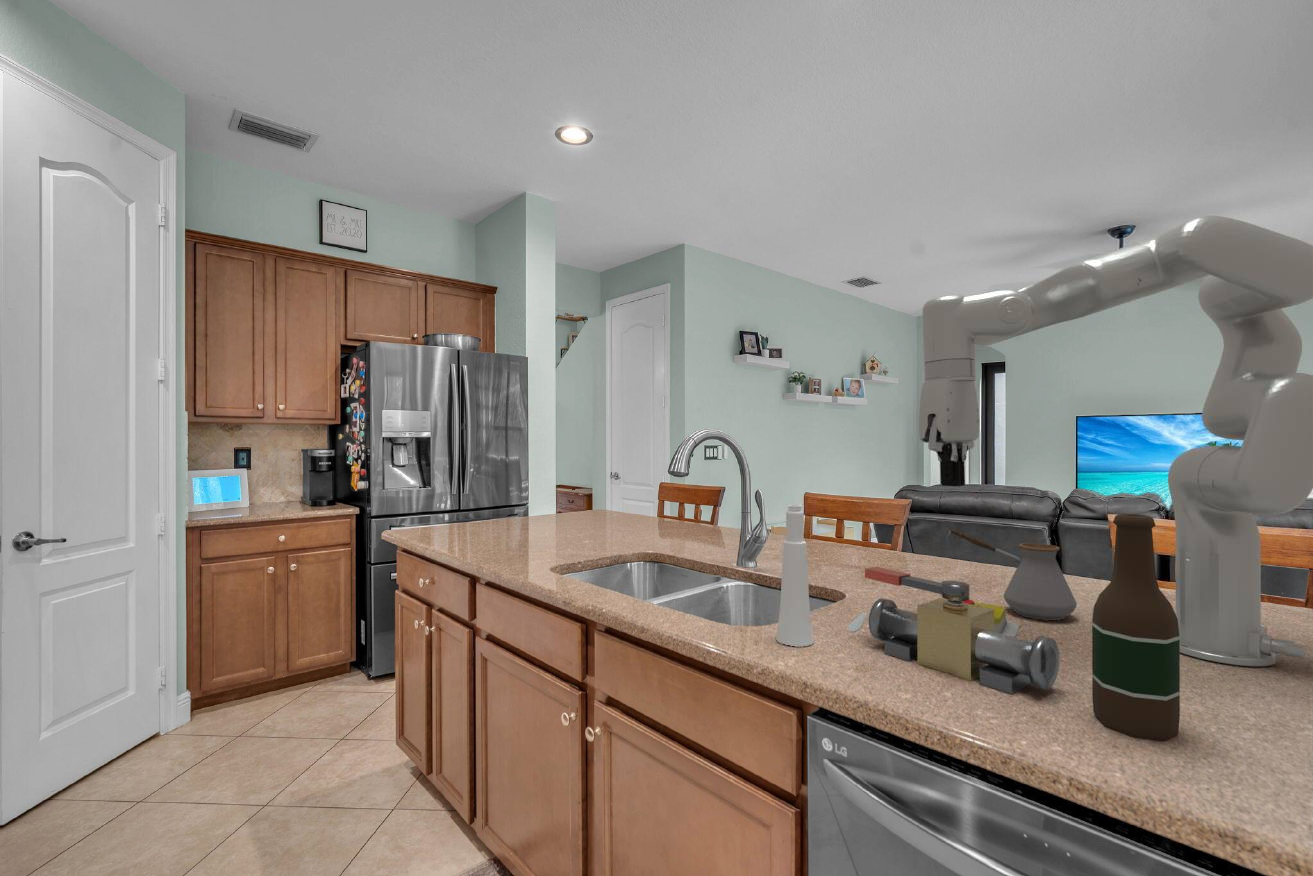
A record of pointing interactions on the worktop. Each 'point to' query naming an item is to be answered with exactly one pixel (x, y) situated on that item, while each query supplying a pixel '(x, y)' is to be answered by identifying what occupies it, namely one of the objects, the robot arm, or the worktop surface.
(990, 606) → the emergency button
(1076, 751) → the worktop surface
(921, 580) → the lever
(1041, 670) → the valve
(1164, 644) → the beer bottle
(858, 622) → the butter knife
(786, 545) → the cosmetic bottle
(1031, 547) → the coffee pot
